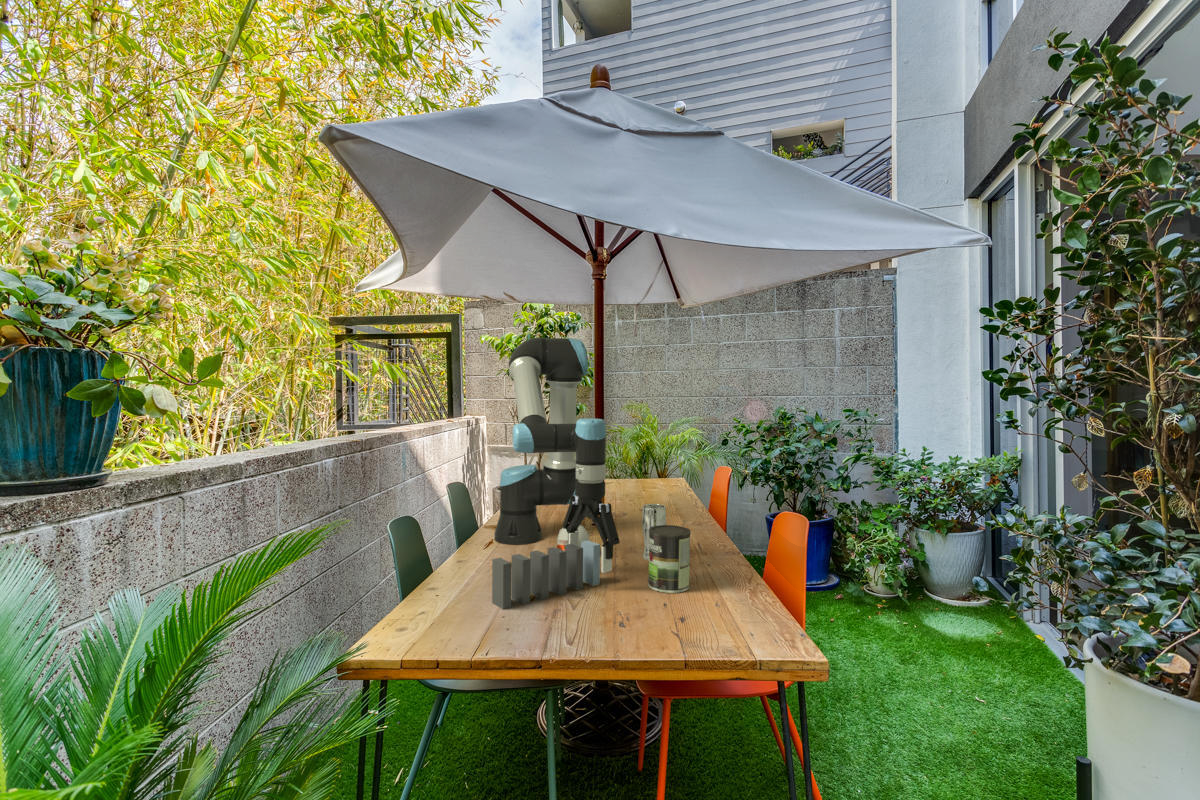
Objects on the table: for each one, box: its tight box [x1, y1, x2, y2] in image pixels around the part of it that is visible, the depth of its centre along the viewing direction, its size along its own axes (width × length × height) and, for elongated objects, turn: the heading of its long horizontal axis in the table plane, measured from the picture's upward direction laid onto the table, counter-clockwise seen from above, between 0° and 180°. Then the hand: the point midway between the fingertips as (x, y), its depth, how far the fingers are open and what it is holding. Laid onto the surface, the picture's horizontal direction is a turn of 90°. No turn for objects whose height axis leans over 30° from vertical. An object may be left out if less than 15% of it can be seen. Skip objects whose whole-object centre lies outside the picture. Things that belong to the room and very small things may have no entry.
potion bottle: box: [556, 524, 591, 551], centre depth 170 cm, size 9×10×15 cm
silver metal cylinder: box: [641, 503, 667, 561], centre depth 171 cm, size 7×7×15 cm
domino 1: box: [491, 557, 512, 610], centre depth 133 cm, size 2×5×10 cm, turn 39°
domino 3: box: [529, 549, 550, 600], centre depth 139 cm, size 2×5×10 cm, turn 39°
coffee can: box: [647, 524, 692, 594], centre depth 146 cm, size 10×10×14 cm
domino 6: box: [581, 540, 601, 587], centre depth 149 cm, size 2×5×10 cm, turn 39°
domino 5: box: [565, 544, 584, 591], centre depth 145 cm, size 2×5×10 cm, turn 39°
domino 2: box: [511, 553, 531, 605], centre depth 136 cm, size 2×5×10 cm, turn 39°
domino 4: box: [547, 546, 567, 596], centre depth 142 cm, size 2×5×10 cm, turn 39°
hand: (589, 564), depth 149 cm, fingers open, 13 cm apart
